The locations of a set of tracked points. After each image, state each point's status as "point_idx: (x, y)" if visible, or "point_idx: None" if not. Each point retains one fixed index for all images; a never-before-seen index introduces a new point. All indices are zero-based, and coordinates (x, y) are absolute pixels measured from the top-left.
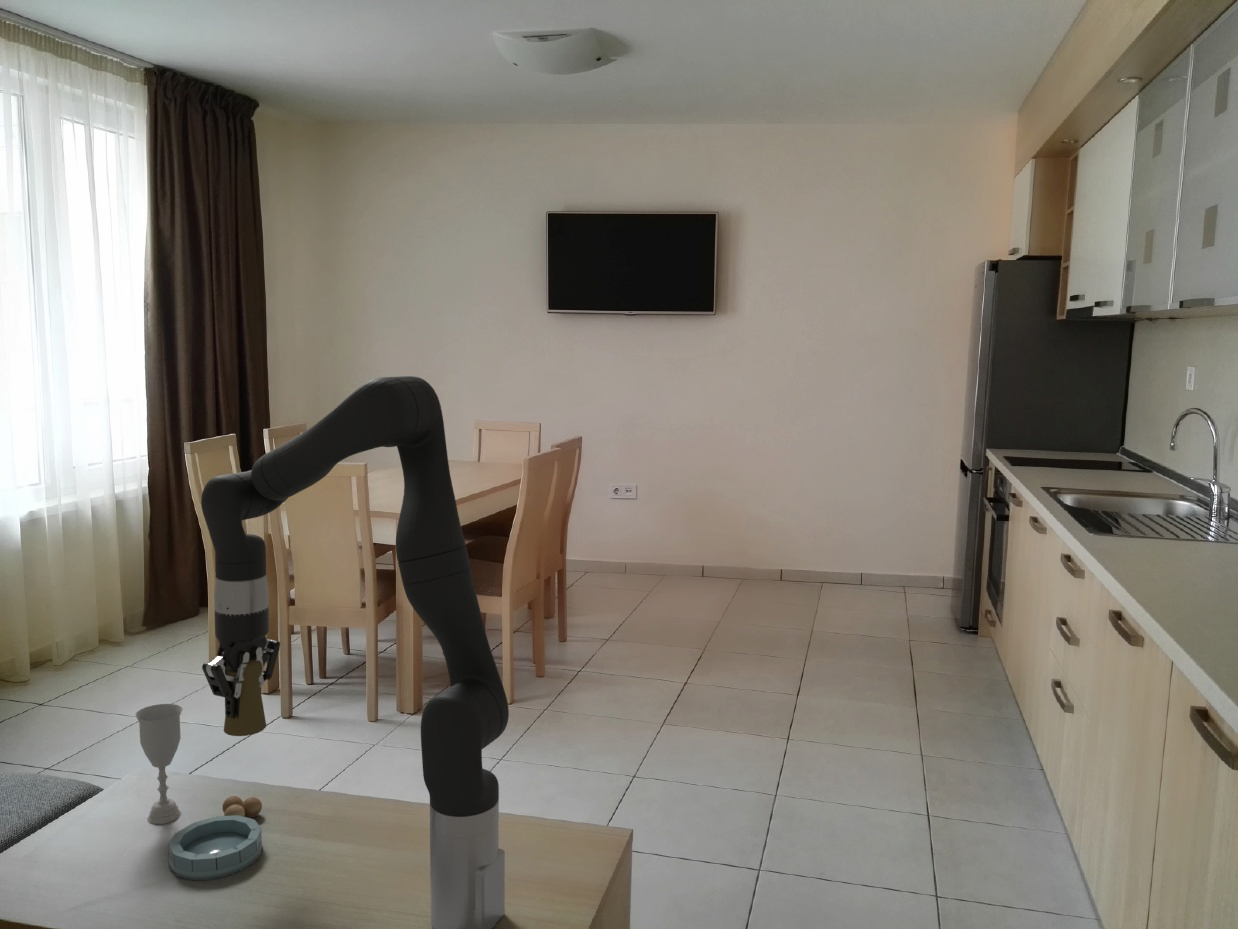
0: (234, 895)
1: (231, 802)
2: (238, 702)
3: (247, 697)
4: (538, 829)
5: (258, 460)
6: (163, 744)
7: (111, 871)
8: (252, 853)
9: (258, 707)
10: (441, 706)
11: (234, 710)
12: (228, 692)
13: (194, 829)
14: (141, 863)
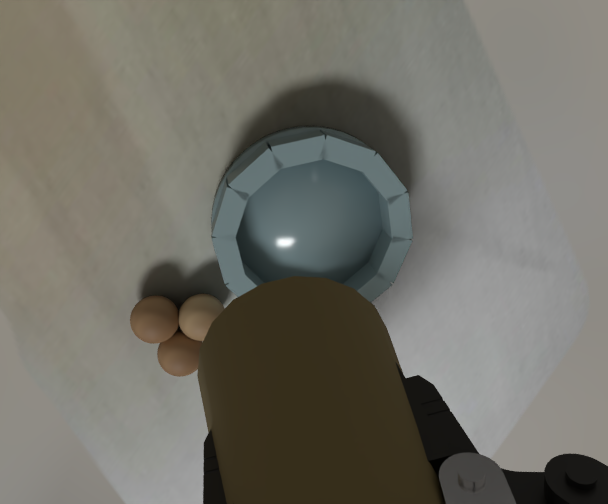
0: (385, 49)
1: (191, 352)
2: (431, 432)
3: (390, 435)
4: None
5: None
6: None
7: (442, 323)
8: (281, 137)
9: (295, 368)
10: None
11: (427, 408)
12: (595, 485)
13: None
14: (399, 309)
